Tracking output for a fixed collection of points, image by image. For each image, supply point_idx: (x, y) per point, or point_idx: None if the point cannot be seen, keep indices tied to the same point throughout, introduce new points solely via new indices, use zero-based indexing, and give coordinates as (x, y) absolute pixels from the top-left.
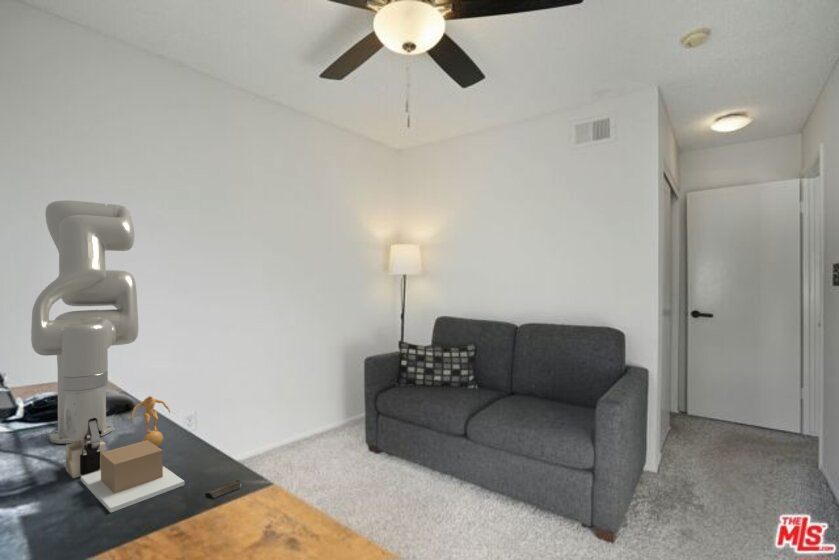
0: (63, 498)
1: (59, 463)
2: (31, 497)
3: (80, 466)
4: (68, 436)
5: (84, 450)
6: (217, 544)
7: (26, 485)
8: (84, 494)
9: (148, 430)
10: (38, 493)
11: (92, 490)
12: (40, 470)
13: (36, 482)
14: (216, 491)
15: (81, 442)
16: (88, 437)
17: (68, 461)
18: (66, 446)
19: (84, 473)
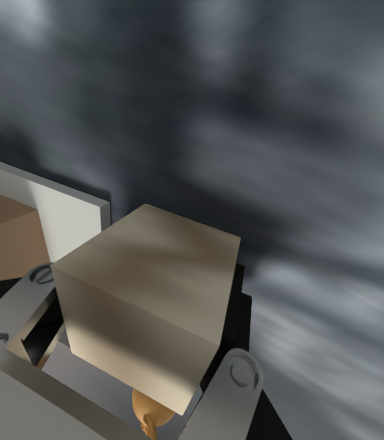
0: (20, 107)
1: (355, 277)
2: (91, 32)
3: None
4: (34, 417)
5: (19, 282)
6: None
7: (249, 71)
8: (16, 152)
9: (149, 429)
10: (110, 70)
11: (2, 167)
12: (381, 204)
13: (236, 118)
14: None
15: (2, 332)
16: (191, 415)
17: (186, 250)
18: (204, 329)
19: None
